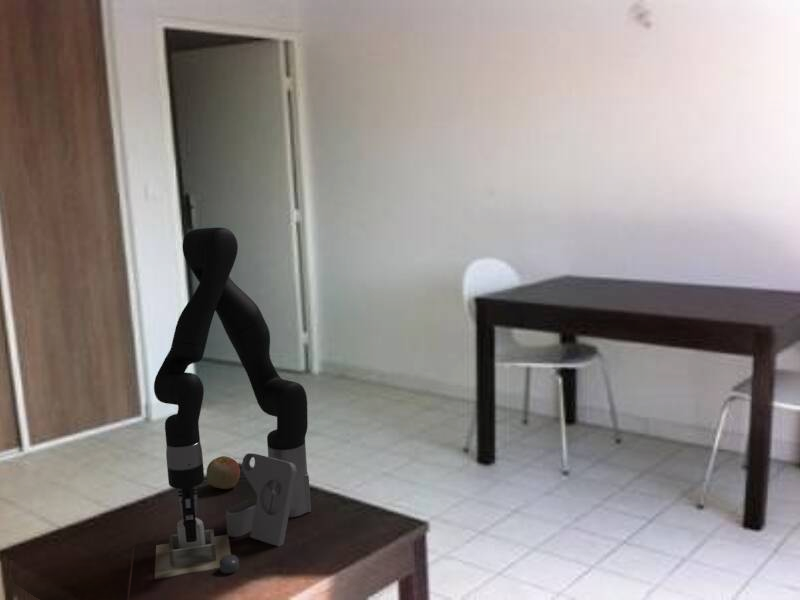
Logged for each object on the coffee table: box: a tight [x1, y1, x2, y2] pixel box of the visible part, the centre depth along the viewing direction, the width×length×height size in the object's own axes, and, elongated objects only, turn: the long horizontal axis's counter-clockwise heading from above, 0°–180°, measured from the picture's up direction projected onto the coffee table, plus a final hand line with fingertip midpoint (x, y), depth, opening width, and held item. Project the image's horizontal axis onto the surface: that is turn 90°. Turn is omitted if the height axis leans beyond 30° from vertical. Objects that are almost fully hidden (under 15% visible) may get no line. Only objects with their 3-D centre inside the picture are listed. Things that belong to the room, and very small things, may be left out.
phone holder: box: [225, 453, 297, 547], centre depth 191 cm, size 17×10×18 cm, turn 53°
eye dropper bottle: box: [176, 515, 205, 549], centre depth 182 cm, size 4×6×12 cm
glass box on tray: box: [154, 528, 232, 580], centre depth 183 cm, size 16×16×4 cm
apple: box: [206, 455, 241, 490], centre depth 224 cm, size 9×9×8 cm
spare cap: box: [219, 554, 240, 575], centre depth 176 cm, size 4×4×2 cm
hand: (191, 533), depth 182 cm, fingers open, 8 cm apart
